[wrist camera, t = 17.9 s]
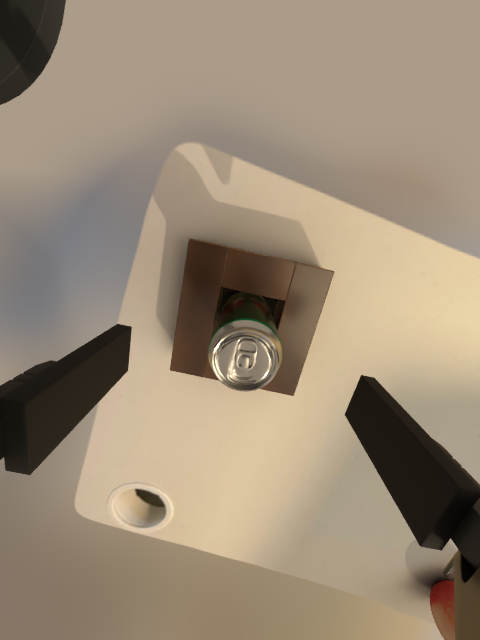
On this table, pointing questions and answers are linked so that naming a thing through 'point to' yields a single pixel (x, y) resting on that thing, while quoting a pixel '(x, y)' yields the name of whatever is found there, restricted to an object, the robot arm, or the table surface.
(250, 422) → the table surface
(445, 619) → the fruit
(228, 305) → the soda can
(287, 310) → the holder
